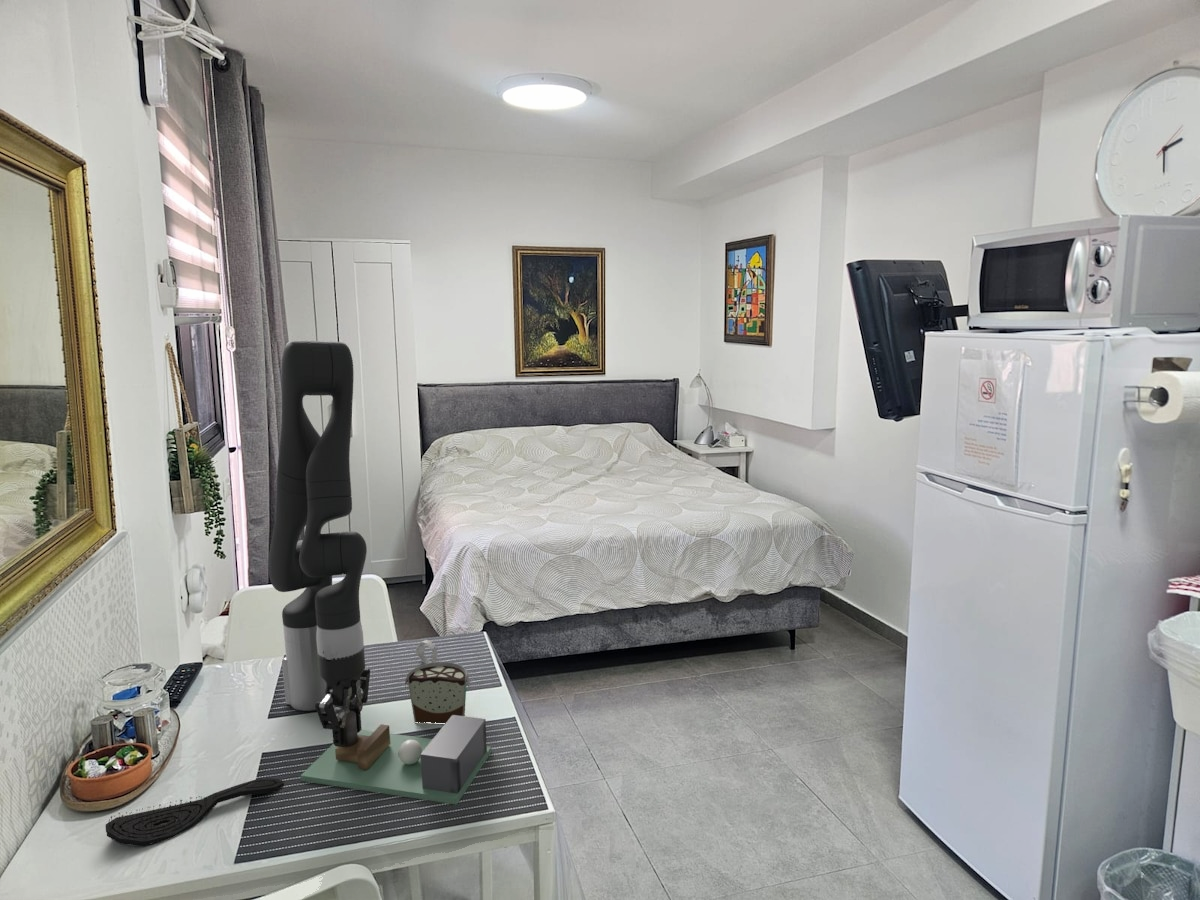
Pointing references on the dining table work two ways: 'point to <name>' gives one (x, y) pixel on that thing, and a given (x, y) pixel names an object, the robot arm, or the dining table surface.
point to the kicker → (362, 743)
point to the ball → (410, 751)
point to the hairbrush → (178, 815)
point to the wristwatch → (421, 649)
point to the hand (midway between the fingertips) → (347, 737)
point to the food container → (437, 691)
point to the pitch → (383, 773)
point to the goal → (453, 754)
